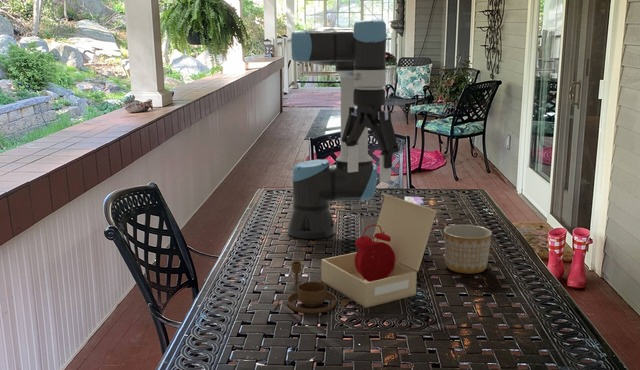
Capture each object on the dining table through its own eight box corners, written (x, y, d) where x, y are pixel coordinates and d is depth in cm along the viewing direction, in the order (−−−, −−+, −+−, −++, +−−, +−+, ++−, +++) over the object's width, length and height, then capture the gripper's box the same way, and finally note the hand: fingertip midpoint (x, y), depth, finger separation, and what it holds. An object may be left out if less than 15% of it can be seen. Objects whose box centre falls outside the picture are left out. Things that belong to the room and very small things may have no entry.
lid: (381, 192, 171) (387, 194, 172) (365, 248, 172) (371, 249, 173) (430, 209, 154) (436, 210, 155) (412, 270, 155) (418, 271, 156)
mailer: (321, 281, 166) (321, 259, 165) (368, 270, 174) (369, 249, 173) (365, 308, 149) (366, 283, 148) (416, 295, 157) (416, 271, 156)
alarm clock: (388, 278, 166) (379, 221, 166) (402, 280, 161) (392, 221, 160) (354, 287, 161) (344, 228, 161) (366, 289, 156) (357, 228, 155)
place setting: (268, 312, 149) (268, 288, 147) (290, 281, 168) (290, 260, 167) (343, 319, 145) (343, 294, 144) (356, 286, 164) (357, 265, 163)
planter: (438, 272, 172) (440, 235, 170) (446, 258, 184) (447, 222, 181) (487, 278, 168) (489, 240, 166) (492, 262, 179) (493, 227, 177)
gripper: (328, 85, 159) (328, 169, 164) (388, 92, 138) (386, 188, 143) (353, 84, 163) (352, 166, 168) (415, 90, 142) (413, 184, 147)
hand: (368, 176), depth 155 cm, fingers open, 13 cm apart
